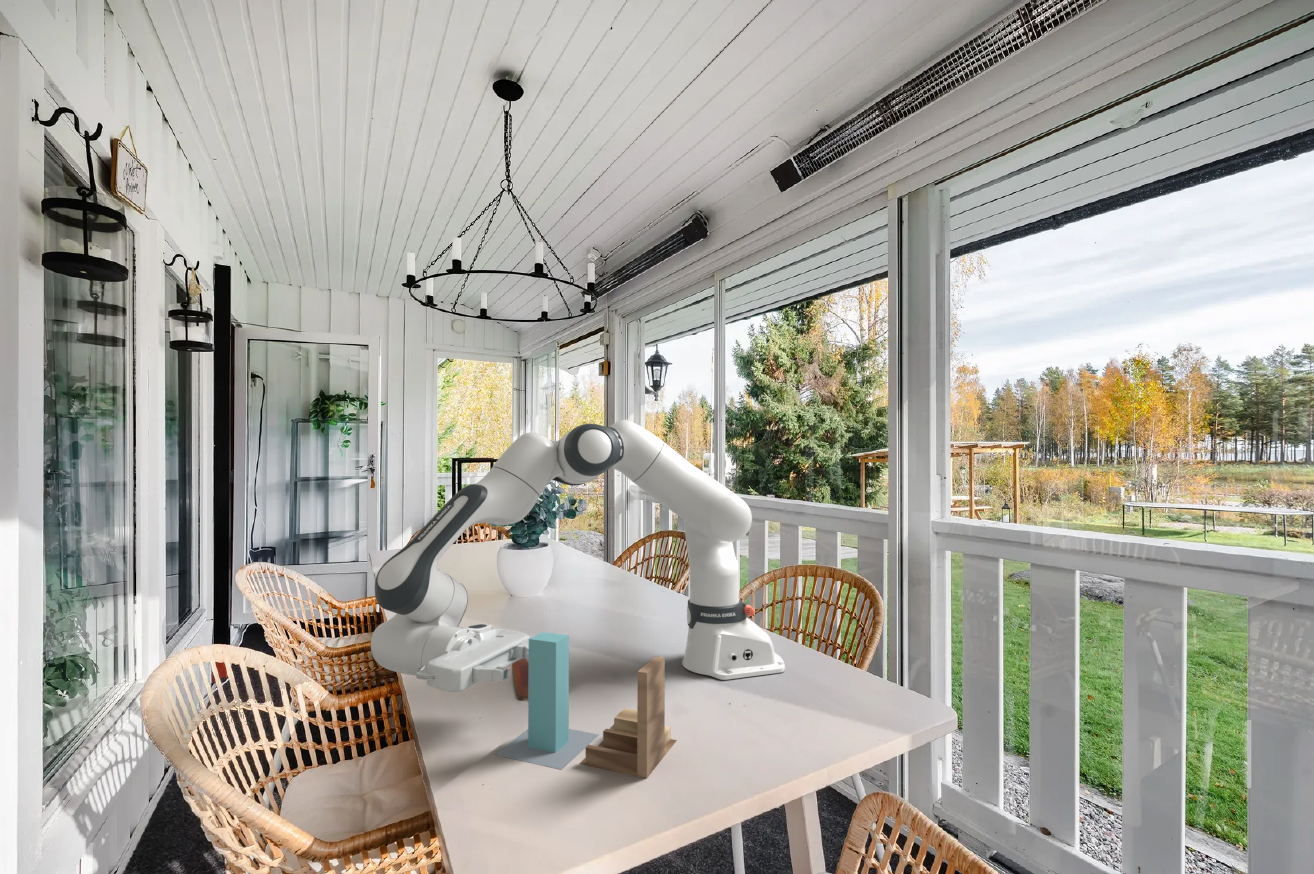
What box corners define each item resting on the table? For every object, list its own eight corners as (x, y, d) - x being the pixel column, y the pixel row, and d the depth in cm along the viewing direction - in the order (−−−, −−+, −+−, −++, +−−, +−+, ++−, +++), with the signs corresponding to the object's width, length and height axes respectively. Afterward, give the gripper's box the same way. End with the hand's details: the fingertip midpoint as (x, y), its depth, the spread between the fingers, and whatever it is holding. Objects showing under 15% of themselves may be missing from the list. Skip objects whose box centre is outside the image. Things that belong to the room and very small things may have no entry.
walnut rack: (615, 734, 105) (615, 639, 105) (676, 746, 101) (676, 646, 101) (579, 770, 93) (579, 662, 93) (646, 785, 89) (647, 672, 89)
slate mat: (536, 728, 107) (536, 722, 107) (599, 740, 103) (599, 734, 103) (493, 760, 96) (494, 754, 96) (561, 776, 91) (561, 769, 91)
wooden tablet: (570, 699, 121) (570, 690, 121) (517, 705, 118) (518, 696, 118) (553, 654, 147) (553, 647, 147) (509, 658, 144) (510, 651, 144)
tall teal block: (541, 735, 102) (542, 631, 102) (568, 741, 100) (568, 635, 100) (528, 746, 98) (528, 638, 99) (555, 752, 96) (556, 642, 97)
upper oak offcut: (624, 720, 103) (624, 708, 103) (663, 727, 101) (663, 714, 101) (614, 730, 100) (614, 717, 100) (654, 737, 97) (654, 725, 97)
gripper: (408, 654, 97) (482, 666, 91) (490, 620, 116) (554, 629, 110) (408, 695, 97) (481, 709, 91) (489, 654, 115) (554, 665, 110)
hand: (522, 665), depth 101 cm, fingers open, 8 cm apart
